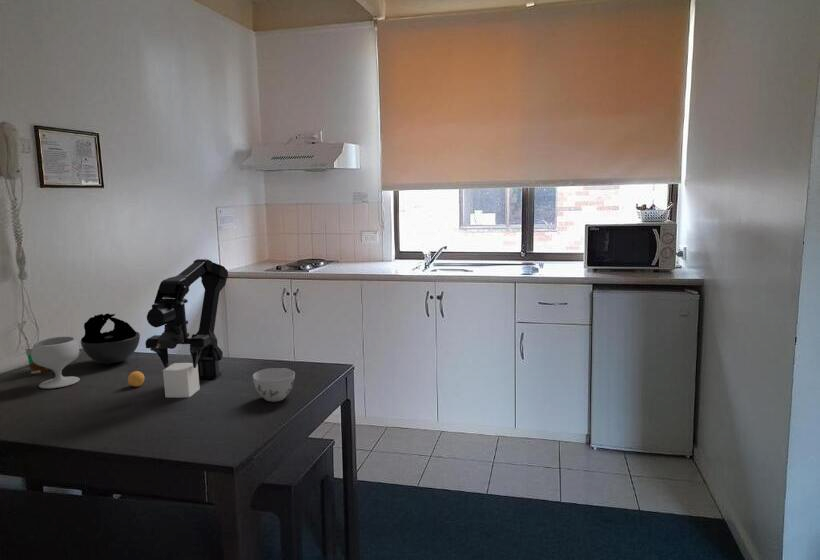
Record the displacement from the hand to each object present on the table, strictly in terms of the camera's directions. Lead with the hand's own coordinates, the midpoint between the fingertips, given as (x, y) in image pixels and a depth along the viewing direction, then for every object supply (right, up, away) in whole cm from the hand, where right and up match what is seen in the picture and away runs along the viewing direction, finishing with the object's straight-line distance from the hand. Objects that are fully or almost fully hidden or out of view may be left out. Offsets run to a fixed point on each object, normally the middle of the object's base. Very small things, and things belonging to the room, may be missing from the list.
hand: (180, 367), depth 187 cm
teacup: (+32, -9, -5) cm, 33 cm away
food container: (-60, -6, +29) cm, 67 cm away
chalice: (-47, -8, +15) cm, 50 cm away
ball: (-18, -5, +9) cm, 21 cm away
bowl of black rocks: (-40, -4, +38) cm, 55 cm away
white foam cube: (0, -8, +1) cm, 8 cm away
